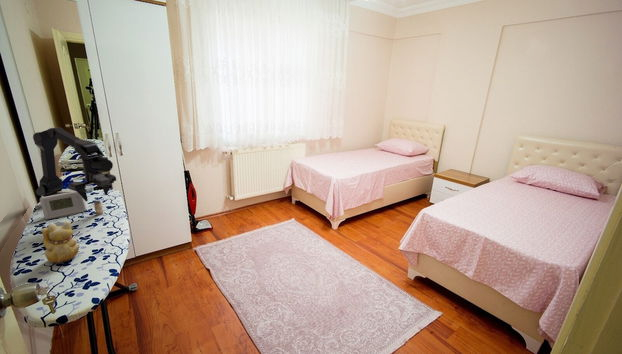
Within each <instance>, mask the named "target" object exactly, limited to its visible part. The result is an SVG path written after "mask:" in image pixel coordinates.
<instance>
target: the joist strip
mask: <svg viewBox="0 0 622 354" xmlns="http://www.w3.org/2000/svg"><path fill="white" fill-rule="evenodd" d="M64 223H65V222H62V221H56V222H53V223H52V224H55V225H56V226H57V227H58V226H62V225H63V224H64ZM75 228H76V227H74V226H72V225H71V229H72V230H73V229H75Z"/></svg>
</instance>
